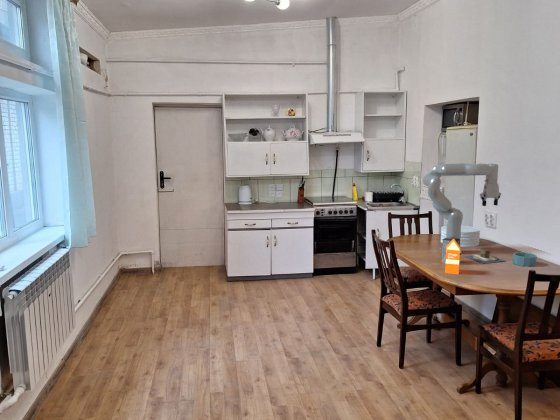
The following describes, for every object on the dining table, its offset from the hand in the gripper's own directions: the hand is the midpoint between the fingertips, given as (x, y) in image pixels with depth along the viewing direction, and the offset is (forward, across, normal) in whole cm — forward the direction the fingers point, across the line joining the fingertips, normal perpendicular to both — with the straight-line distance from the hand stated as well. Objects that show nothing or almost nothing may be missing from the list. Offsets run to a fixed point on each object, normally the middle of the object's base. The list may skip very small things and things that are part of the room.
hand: (489, 205), depth 319 cm
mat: (+33, -16, -17) cm, 41 cm away
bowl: (+33, 0, -34) cm, 48 cm away
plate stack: (+34, 0, +30) cm, 45 cm away
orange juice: (+34, -55, -35) cm, 73 cm away
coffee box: (+34, -43, -17) cm, 57 cm away
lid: (+33, -16, -17) cm, 40 cm away
